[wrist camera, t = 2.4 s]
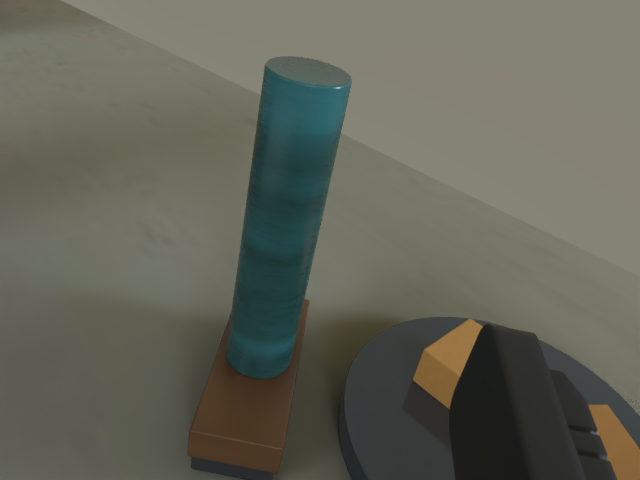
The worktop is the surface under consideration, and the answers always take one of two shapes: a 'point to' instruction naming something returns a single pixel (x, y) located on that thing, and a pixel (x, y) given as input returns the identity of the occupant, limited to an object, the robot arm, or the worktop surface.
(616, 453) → the crust
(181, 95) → the worktop surface
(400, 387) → the turntable plate
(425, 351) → the block
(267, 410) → the peg on stand
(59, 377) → the worktop surface
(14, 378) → the worktop surface
